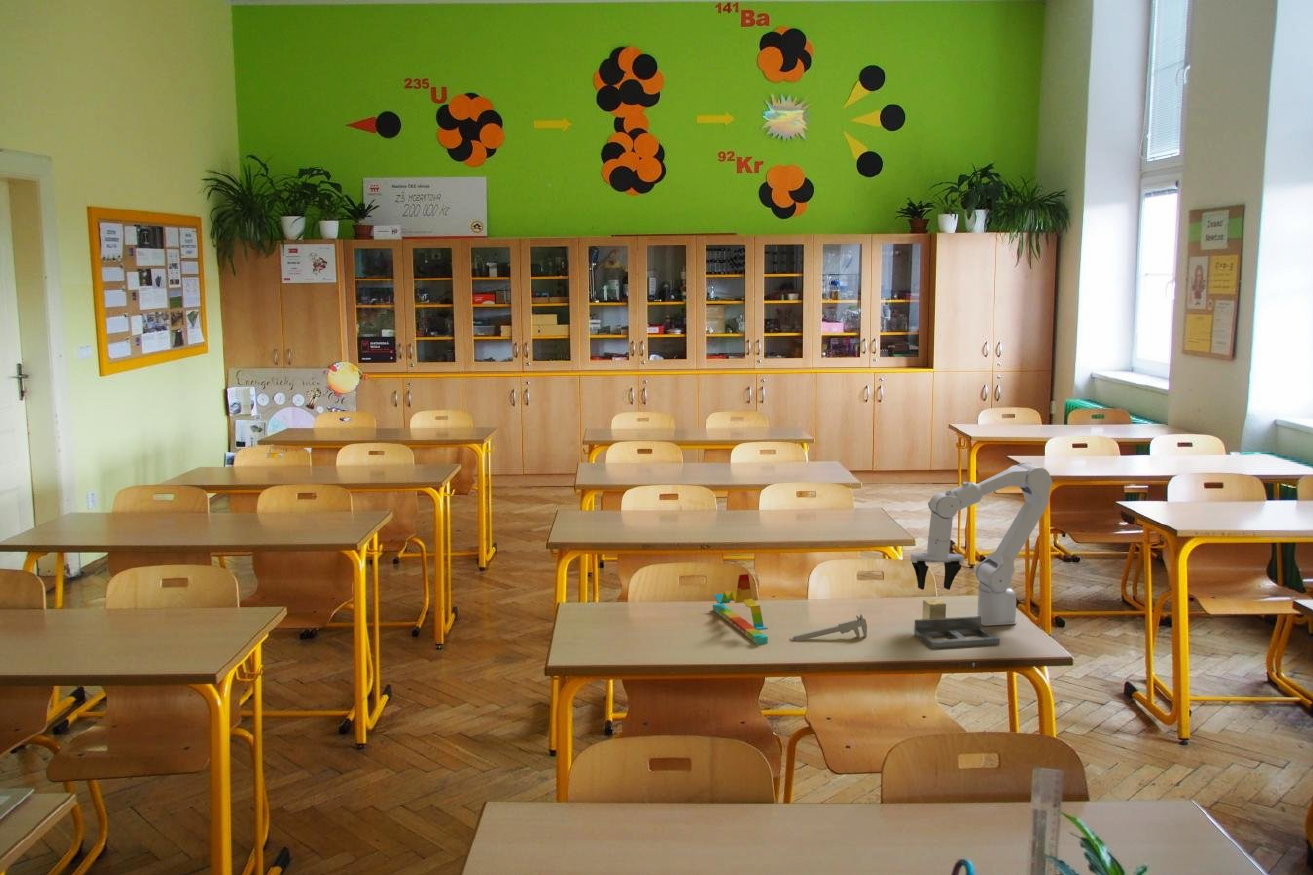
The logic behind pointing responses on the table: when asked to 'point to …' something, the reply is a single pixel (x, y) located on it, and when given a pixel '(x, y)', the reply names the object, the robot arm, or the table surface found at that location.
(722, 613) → the rainbow striped peaked bar
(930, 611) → the brass block
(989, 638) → the grey tray
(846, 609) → the table surface
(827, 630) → the caliper
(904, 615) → the table surface
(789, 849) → the table surface
